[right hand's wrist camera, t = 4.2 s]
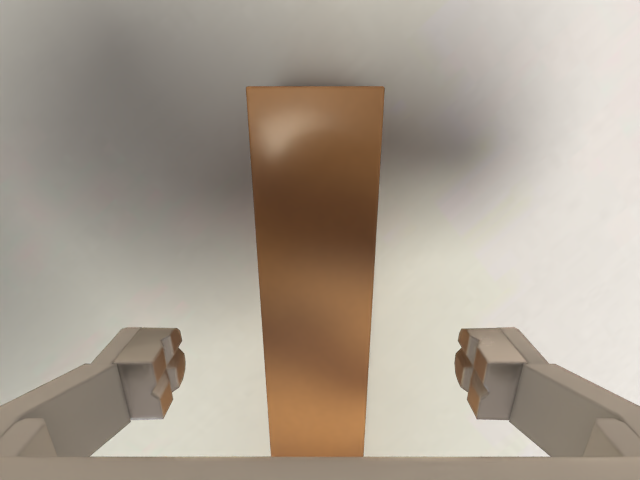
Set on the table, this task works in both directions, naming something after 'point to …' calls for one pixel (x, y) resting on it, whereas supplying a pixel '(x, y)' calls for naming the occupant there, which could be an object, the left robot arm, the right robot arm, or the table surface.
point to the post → (316, 258)
